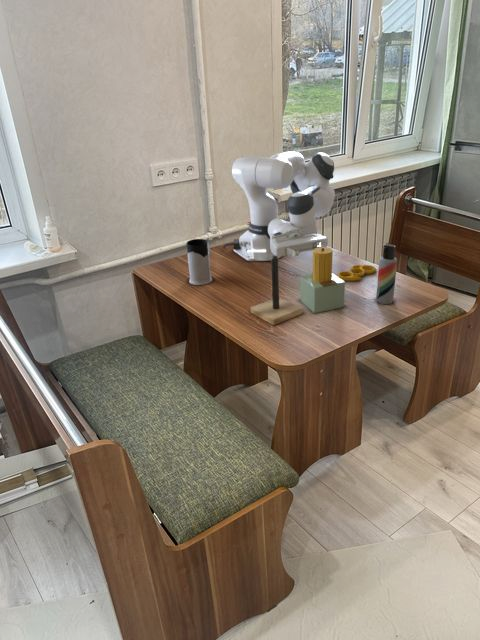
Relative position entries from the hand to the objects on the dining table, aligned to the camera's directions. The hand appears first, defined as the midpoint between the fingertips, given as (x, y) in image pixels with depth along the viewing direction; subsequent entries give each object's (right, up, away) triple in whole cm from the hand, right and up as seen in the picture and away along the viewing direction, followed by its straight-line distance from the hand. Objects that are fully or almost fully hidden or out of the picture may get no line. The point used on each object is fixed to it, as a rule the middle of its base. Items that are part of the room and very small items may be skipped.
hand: (309, 251), depth 181 cm
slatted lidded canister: (+4, -11, -7) cm, 14 cm away
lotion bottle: (+26, -17, -1) cm, 31 cm away
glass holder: (-38, -6, +22) cm, 45 cm away
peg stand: (-11, -21, -6) cm, 25 cm away
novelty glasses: (+20, -5, +19) cm, 28 cm away
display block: (+4, -18, -1) cm, 18 cm away
